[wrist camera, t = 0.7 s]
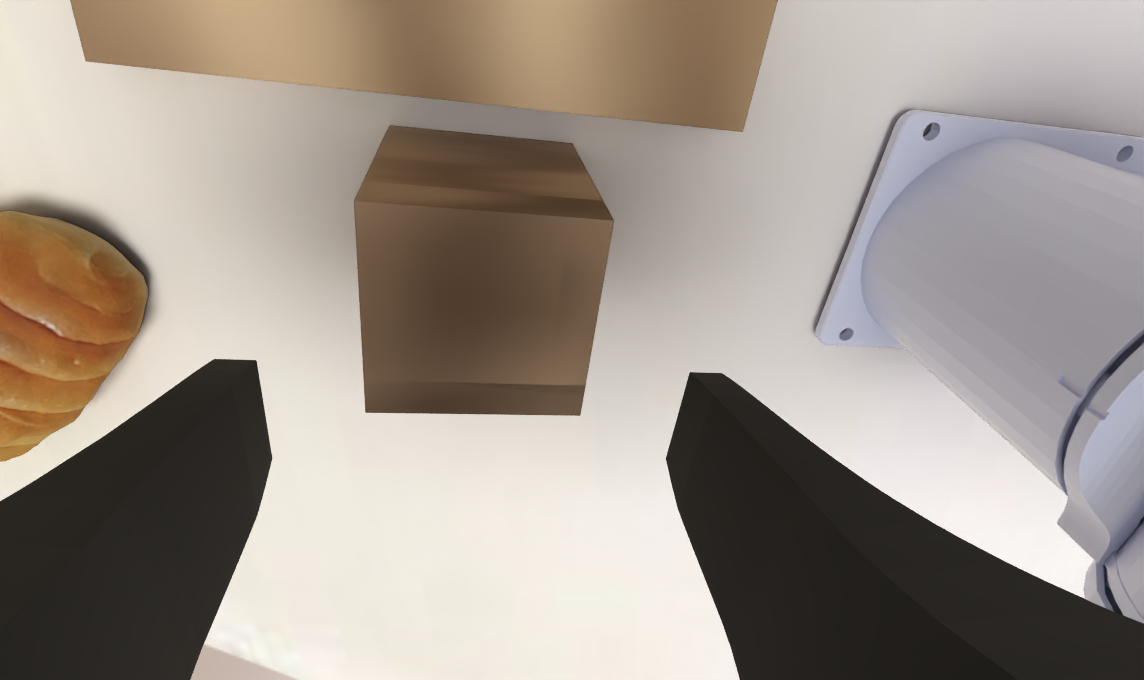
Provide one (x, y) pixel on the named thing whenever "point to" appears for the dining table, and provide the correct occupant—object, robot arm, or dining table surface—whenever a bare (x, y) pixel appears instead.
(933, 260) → the robot arm
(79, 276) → the pastry
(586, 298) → the brown block
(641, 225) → the dining table surface
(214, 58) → the board
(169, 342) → the dining table surface
